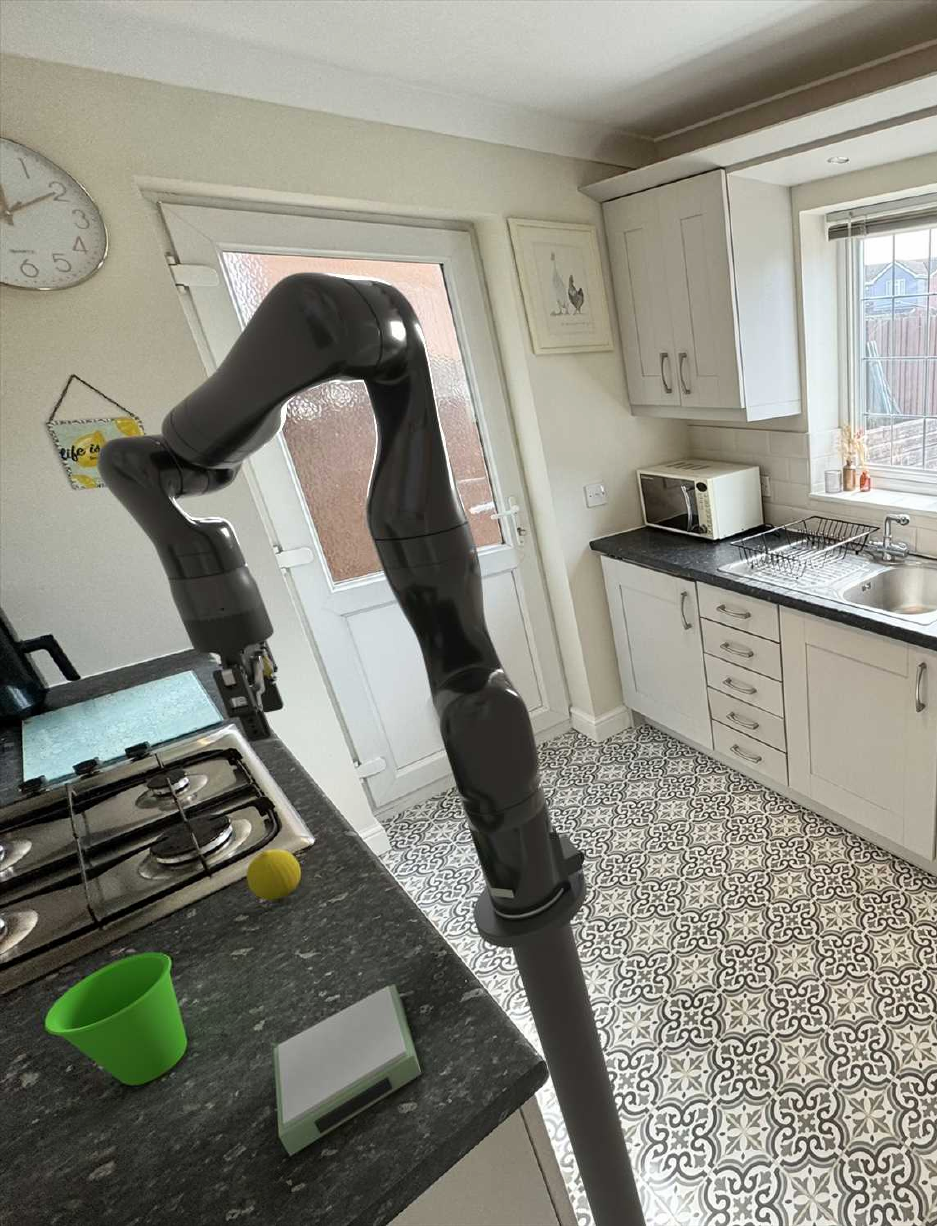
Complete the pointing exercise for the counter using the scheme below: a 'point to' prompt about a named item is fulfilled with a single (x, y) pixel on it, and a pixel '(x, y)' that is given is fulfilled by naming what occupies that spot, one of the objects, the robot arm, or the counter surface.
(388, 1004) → the scale
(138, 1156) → the counter surface
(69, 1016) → the cup
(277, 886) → the lemon
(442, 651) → the robot arm
